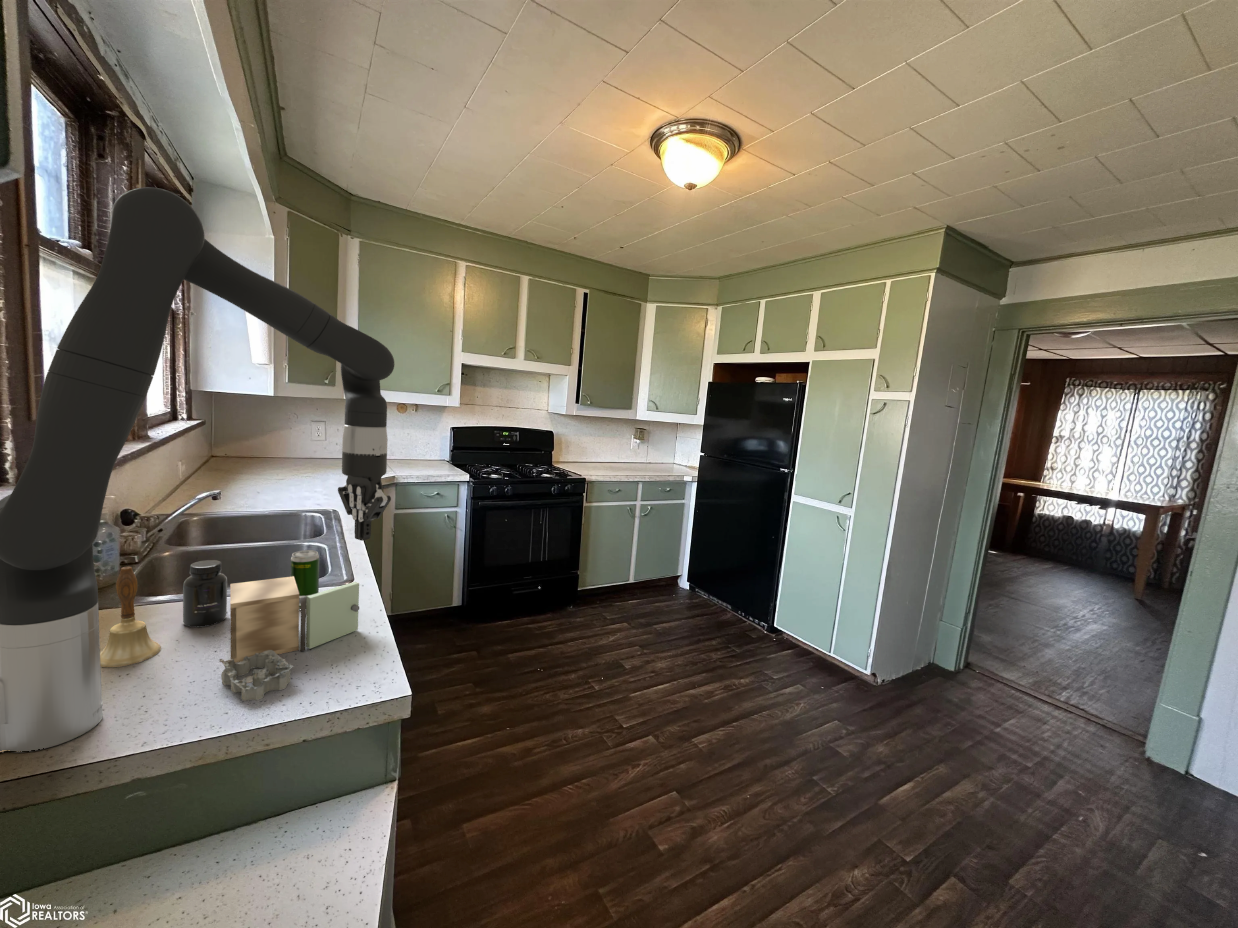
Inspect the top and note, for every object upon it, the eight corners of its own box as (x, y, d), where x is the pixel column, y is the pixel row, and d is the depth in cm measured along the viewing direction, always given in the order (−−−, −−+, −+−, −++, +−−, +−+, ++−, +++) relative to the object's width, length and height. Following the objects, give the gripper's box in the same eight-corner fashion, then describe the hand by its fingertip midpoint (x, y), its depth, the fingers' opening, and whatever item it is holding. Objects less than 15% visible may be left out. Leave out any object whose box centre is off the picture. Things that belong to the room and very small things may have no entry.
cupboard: (230, 666, 85) (230, 605, 84) (230, 639, 94) (230, 583, 93) (305, 651, 92) (306, 595, 91) (299, 627, 101) (299, 575, 99)
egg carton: (216, 681, 81) (216, 658, 81) (268, 663, 88) (268, 642, 87) (243, 707, 76) (243, 682, 75) (296, 686, 82) (296, 663, 81)
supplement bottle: (203, 630, 96) (202, 571, 95) (173, 624, 97) (172, 566, 96) (235, 616, 103) (235, 560, 101) (207, 611, 104) (207, 556, 102)
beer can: (320, 607, 110) (321, 555, 109) (291, 612, 107) (292, 558, 105) (316, 598, 114) (317, 548, 113) (288, 603, 111) (289, 551, 109)
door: (305, 646, 93) (306, 596, 92) (354, 627, 102) (355, 581, 101) (312, 650, 92) (313, 599, 91) (361, 630, 101) (362, 584, 100)
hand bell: (173, 648, 89) (171, 563, 87) (119, 671, 81) (116, 579, 79) (136, 640, 91) (134, 556, 89) (80, 662, 83) (76, 571, 81)
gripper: (323, 446, 92) (322, 535, 94) (369, 455, 86) (366, 551, 88) (361, 444, 99) (358, 528, 101) (406, 453, 93) (402, 542, 95)
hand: (362, 538), depth 95 cm, fingers closed
